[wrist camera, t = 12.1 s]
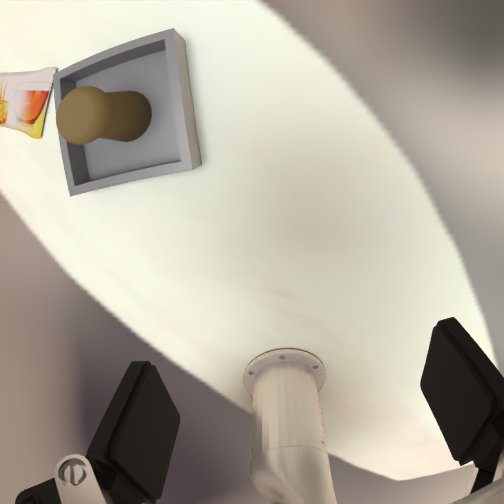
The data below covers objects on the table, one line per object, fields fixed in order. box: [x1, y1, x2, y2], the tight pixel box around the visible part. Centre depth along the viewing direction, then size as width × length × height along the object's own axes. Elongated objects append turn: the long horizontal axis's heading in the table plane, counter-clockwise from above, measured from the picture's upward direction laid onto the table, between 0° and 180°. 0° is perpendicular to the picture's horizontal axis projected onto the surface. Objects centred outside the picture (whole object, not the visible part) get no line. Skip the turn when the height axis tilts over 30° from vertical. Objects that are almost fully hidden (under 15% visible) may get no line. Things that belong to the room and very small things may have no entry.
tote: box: [53, 28, 202, 196], centre depth 27 cm, size 15×15×4 cm
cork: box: [56, 86, 152, 145], centre depth 23 cm, size 6×6×11 cm
